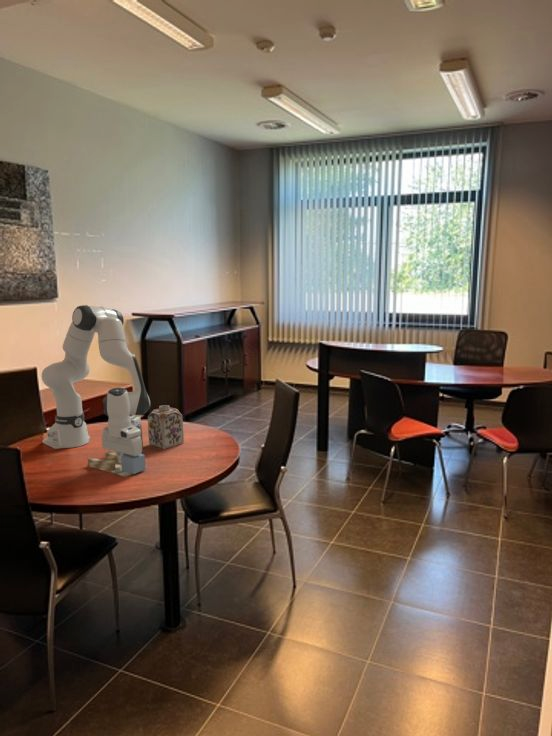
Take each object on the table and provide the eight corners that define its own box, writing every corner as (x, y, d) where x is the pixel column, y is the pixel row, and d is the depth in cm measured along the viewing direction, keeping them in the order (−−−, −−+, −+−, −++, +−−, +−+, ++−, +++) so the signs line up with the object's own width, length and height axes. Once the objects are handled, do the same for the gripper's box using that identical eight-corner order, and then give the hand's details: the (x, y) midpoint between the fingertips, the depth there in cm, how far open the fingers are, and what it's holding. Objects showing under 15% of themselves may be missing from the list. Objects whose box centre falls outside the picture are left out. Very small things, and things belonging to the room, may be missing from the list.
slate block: (121, 470, 210) (120, 456, 209) (133, 466, 215) (132, 451, 214) (133, 474, 206) (132, 459, 205) (145, 469, 211) (144, 454, 210)
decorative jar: (164, 449, 236) (161, 410, 233) (148, 444, 244) (145, 406, 241) (185, 443, 245) (183, 405, 242) (169, 438, 253) (167, 401, 250)
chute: (87, 465, 218) (87, 458, 217) (109, 458, 227) (109, 451, 226) (125, 476, 205) (124, 469, 205) (147, 468, 214) (146, 460, 214)
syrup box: (137, 451, 235) (135, 419, 232) (125, 451, 236) (122, 419, 233) (143, 447, 240) (141, 416, 238) (131, 447, 241) (128, 416, 239)
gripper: (96, 427, 214) (99, 460, 217) (131, 435, 203) (133, 469, 205) (109, 423, 220) (112, 455, 222) (143, 431, 208) (145, 464, 211)
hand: (122, 462), depth 214 cm, fingers closed
